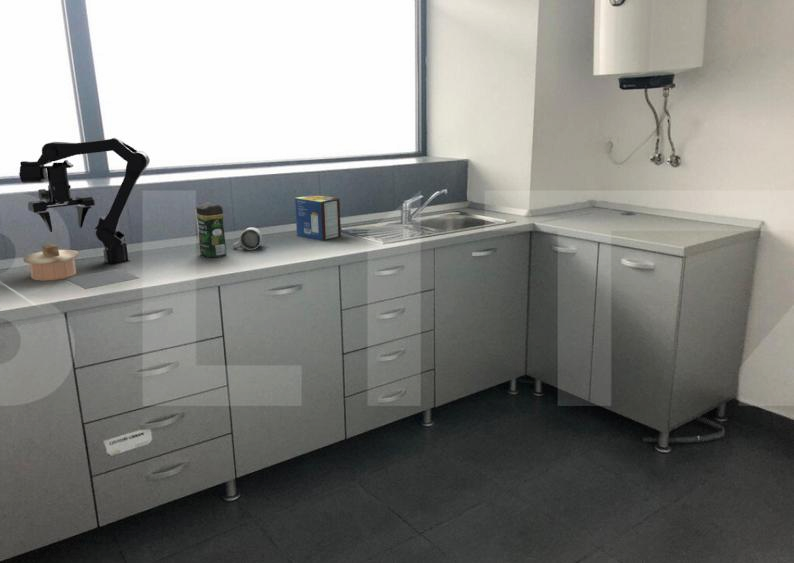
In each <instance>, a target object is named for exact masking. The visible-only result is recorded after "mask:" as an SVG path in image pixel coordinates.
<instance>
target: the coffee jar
mask: <svg viewBox="0 0 794 563" xmlns="http://www.w3.org/2000/svg"><path fill="white" fill-rule="evenodd" d="M195 207H196V208H195V212H196V214H195V215H196V219H197V227H198V241H199V243H198V244H199V253H200V255H202V256H204V257H207V258H220V257H223V256H225V255H227V245H226V244H227V243H226V236H225V228H224V210H223V209H224V208H223V206H222V205H220V204H215V203H212V202H210V201H207V202H200V203H198V204H197V205H196V206H195Z"/></svg>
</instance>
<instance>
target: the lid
mask: <svg viewBox="0 0 794 563" xmlns="http://www.w3.org/2000/svg"><path fill="white" fill-rule="evenodd" d="M58 246H59V245H56V244H53V243H48V244H41V249H42V251H39V252H33V253H30V254H27V255H25V256H23V262H24V263H27V264H29V263H31V264H46V263H56V262H62V261H67V260H71V259H74V260H75V259H76V258H78V256H79V252H78V251H77V250H74V249H59V247H58Z"/></svg>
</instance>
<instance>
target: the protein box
mask: <svg viewBox="0 0 794 563" xmlns="http://www.w3.org/2000/svg"><path fill="white" fill-rule="evenodd" d="M294 201H295V202H294V203H295V220H296V221H295V222H296V224H295V225H296V236H297V237H302V238H307V239H310V240H311V239H312V240H317V241H327V240H330V239H335V238H340V237H342V232H341V231H342V228H341V226H342V224H341V204H340V203H341V201H340V198H339V197H333V196H325V195H324V196H323V195H316V194H312V195H306V196H305V195H304V196H299V197H298V196H297V197H294Z"/></svg>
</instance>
